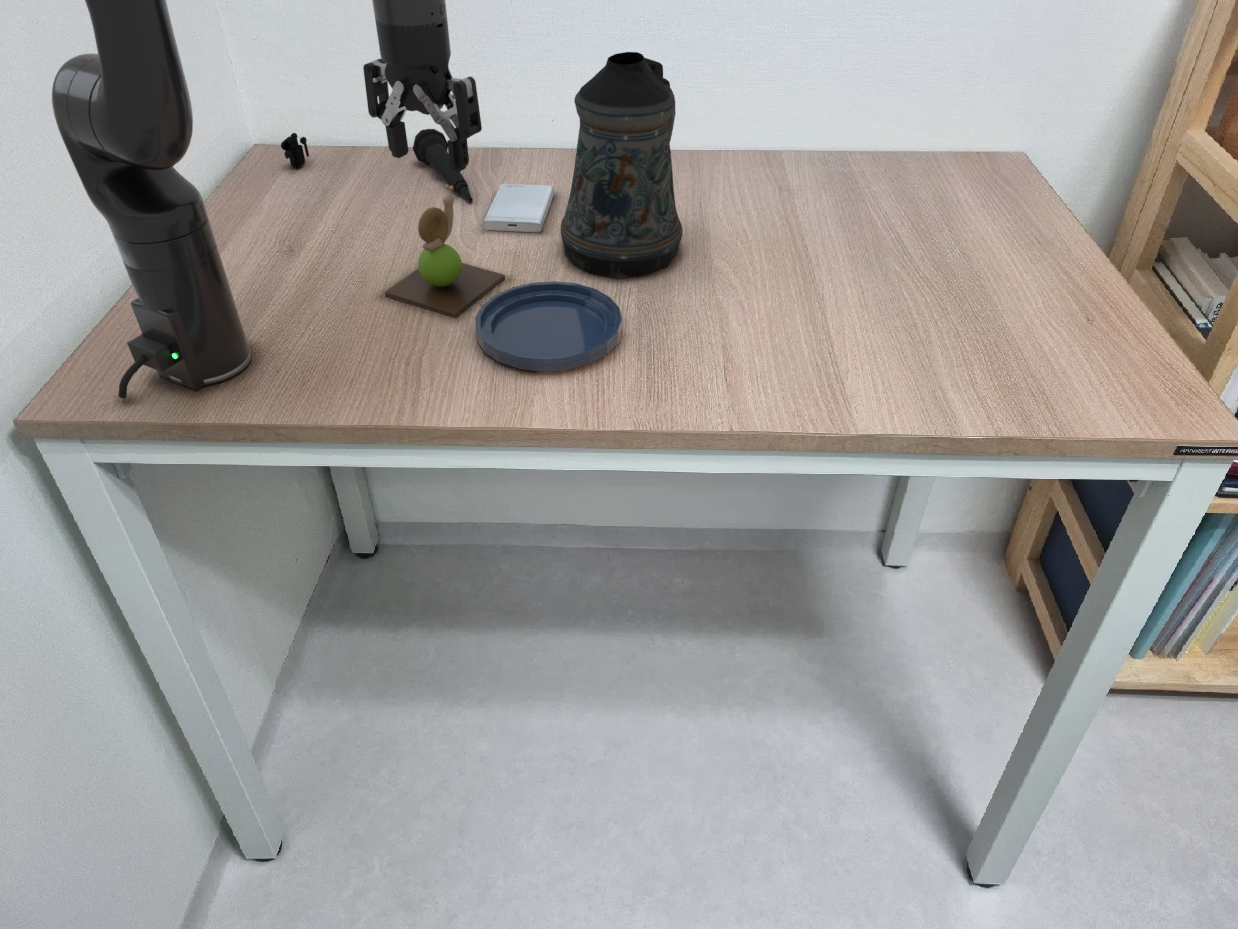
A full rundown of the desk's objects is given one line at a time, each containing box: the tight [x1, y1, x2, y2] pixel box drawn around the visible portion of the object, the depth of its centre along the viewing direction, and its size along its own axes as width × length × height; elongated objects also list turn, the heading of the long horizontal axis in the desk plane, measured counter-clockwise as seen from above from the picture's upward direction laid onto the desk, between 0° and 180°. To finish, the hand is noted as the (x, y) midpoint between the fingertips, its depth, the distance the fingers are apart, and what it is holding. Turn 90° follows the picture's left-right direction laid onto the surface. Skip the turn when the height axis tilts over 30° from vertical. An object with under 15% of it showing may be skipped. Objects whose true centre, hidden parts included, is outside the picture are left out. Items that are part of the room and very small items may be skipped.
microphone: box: [412, 128, 474, 203], centre depth 142 cm, size 6×6×20 cm
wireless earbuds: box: [280, 132, 310, 170], centre depth 146 cm, size 7×2×5 cm, turn 169°
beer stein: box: [559, 51, 683, 280], centre depth 119 cm, size 16×19×25 cm
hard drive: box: [483, 183, 555, 233], centre depth 134 cm, size 2×8×12 cm
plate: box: [474, 280, 623, 372], centre depth 109 cm, size 17×17×2 cm
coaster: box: [384, 262, 506, 318], centre depth 118 cm, size 11×11×1 cm
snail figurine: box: [417, 184, 463, 287], centre depth 114 cm, size 5×6×12 cm
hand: (429, 162), depth 107 cm, fingers open, 8 cm apart
